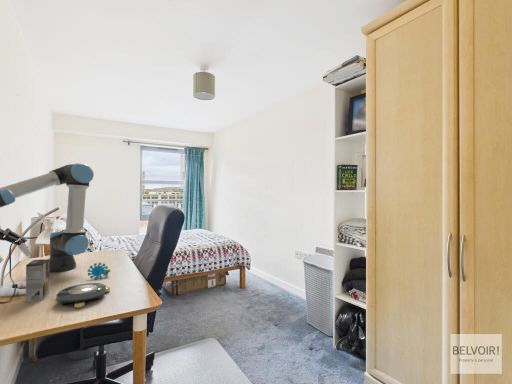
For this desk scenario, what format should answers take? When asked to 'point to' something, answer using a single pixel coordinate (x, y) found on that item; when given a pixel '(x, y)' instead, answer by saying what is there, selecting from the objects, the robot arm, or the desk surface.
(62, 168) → the robot arm
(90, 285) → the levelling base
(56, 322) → the desk surface
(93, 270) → the gear
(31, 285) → the coffee box
